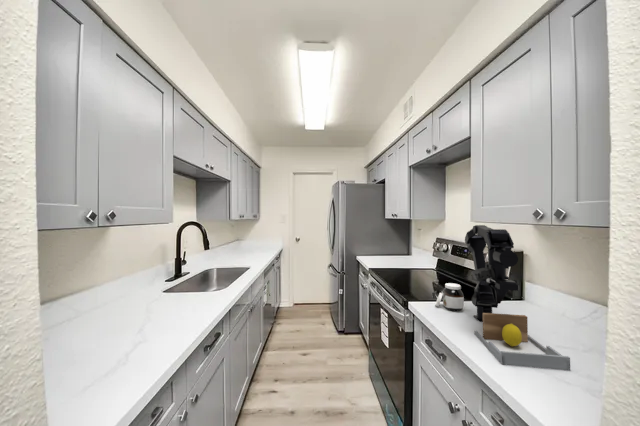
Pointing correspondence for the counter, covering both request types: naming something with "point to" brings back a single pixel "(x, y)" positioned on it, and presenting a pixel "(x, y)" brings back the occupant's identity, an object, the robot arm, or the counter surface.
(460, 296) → the spread jar
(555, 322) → the counter surface
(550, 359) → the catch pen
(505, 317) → the board
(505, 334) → the lemon
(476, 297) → the robot arm
